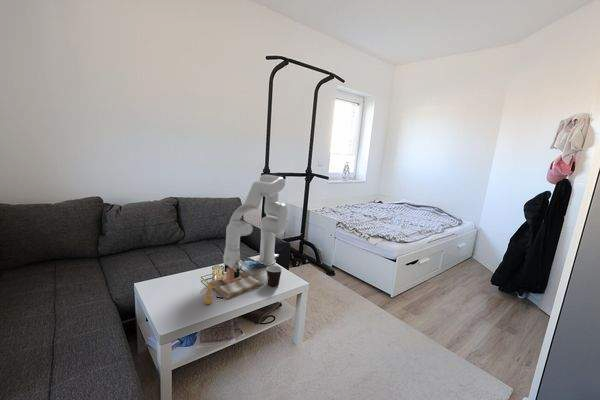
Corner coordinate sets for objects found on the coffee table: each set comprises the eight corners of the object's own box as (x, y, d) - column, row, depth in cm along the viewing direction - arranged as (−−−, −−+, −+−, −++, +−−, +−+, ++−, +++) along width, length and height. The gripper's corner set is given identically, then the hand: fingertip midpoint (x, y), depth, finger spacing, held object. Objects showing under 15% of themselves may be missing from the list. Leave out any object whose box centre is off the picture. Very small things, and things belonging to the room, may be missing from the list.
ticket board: (244, 273, 170) (244, 269, 170) (263, 285, 158) (263, 281, 158) (208, 285, 153) (208, 281, 152) (226, 300, 141) (226, 295, 140)
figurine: (215, 299, 140) (216, 278, 138) (218, 306, 135) (219, 283, 133) (198, 303, 136) (198, 280, 134) (200, 309, 131) (200, 286, 129)
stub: (235, 274, 164) (235, 263, 163) (242, 278, 160) (242, 267, 158) (220, 279, 157) (220, 268, 156) (227, 284, 152) (227, 272, 151)
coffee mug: (279, 289, 156) (281, 272, 154) (264, 287, 156) (265, 271, 154) (281, 279, 167) (282, 263, 165) (267, 277, 167) (268, 262, 165)
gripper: (218, 242, 157) (217, 270, 161) (236, 252, 146) (234, 282, 149) (229, 240, 163) (228, 267, 166) (247, 249, 151) (246, 278, 155)
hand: (231, 274), depth 158 cm, fingers open, 9 cm apart
